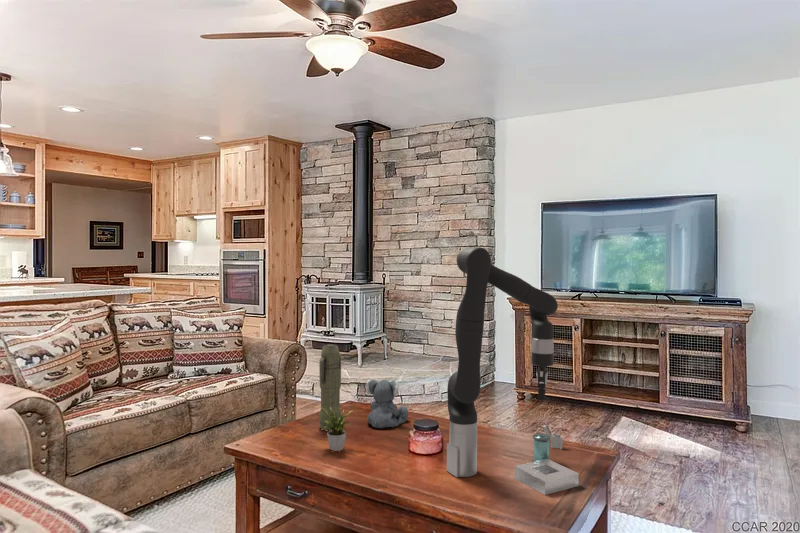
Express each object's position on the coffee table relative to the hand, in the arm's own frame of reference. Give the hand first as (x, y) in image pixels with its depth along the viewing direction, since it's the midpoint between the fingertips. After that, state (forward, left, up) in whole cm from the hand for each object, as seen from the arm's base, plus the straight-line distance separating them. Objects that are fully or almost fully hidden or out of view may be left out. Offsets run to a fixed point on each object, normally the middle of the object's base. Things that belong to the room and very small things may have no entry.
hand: (541, 396), depth 189 cm
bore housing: (-11, -14, -23) cm, 29 cm away
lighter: (+14, +9, -23) cm, 28 cm away
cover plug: (0, 0, -23) cm, 23 cm away
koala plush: (-30, +64, -23) cm, 74 cm away
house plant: (-61, +45, -23) cm, 79 cm away
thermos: (-53, +69, -23) cm, 90 cm away
